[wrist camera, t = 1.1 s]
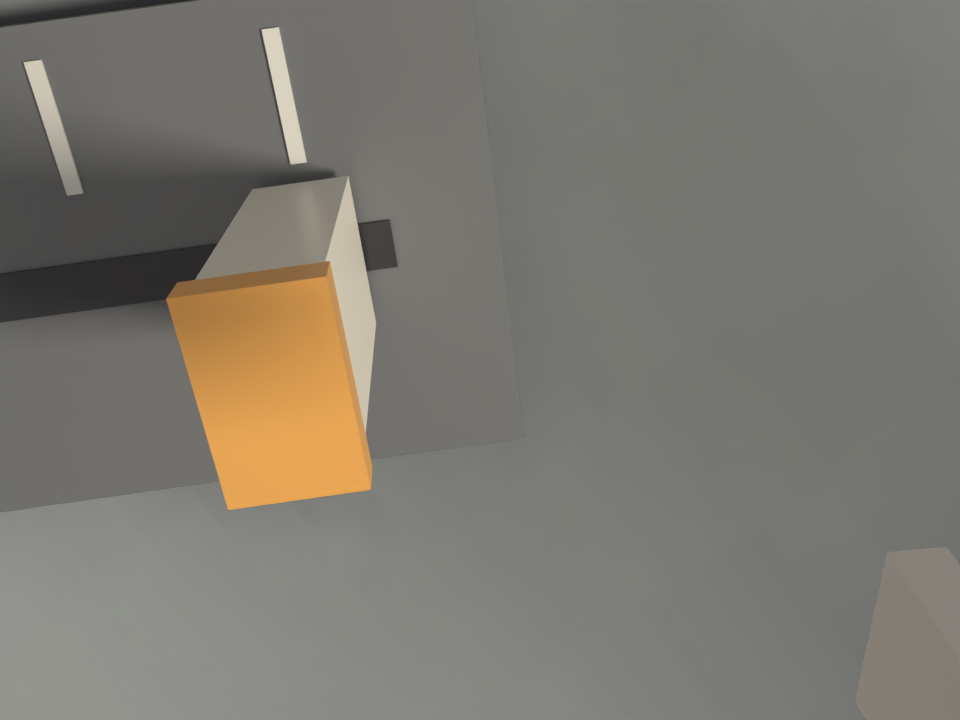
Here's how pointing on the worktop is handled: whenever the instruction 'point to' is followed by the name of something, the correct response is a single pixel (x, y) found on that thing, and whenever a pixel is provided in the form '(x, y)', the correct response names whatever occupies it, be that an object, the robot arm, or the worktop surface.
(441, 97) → the fader panel
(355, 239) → the fader knob
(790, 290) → the worktop surface
